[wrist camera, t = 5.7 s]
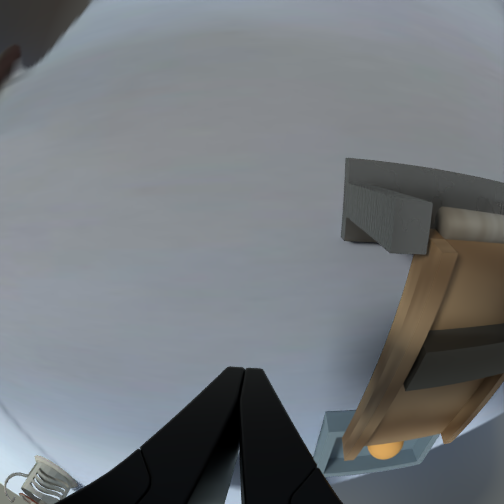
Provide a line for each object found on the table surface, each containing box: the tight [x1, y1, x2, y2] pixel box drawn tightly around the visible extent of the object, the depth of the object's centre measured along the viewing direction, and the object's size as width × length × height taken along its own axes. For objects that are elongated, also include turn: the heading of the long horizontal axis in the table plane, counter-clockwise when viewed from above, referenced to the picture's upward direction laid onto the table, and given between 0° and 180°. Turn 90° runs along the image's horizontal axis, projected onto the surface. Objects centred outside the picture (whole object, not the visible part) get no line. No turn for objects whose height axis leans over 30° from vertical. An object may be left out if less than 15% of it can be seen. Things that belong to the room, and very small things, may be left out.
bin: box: [313, 410, 439, 477], centre depth 23 cm, size 8×12×2 cm, turn 89°
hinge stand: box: [341, 158, 504, 255], centre depth 14 cm, size 5×14×8 cm, turn 89°
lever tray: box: [342, 207, 504, 461], centre depth 14 cm, size 19×10×3 cm, turn 179°
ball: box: [368, 441, 404, 460], centre depth 22 cm, size 4×4×4 cm
